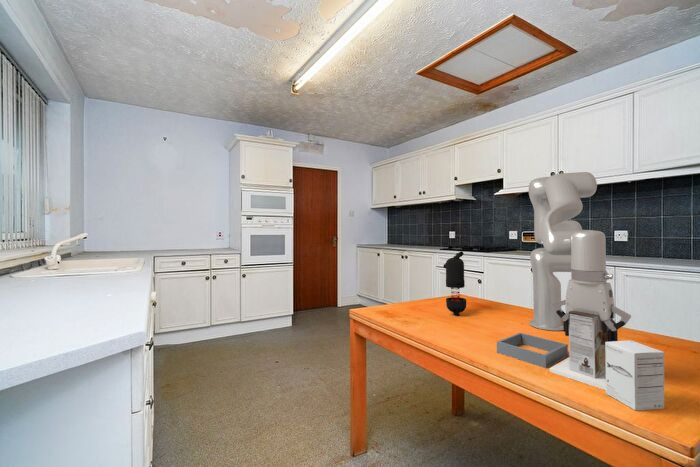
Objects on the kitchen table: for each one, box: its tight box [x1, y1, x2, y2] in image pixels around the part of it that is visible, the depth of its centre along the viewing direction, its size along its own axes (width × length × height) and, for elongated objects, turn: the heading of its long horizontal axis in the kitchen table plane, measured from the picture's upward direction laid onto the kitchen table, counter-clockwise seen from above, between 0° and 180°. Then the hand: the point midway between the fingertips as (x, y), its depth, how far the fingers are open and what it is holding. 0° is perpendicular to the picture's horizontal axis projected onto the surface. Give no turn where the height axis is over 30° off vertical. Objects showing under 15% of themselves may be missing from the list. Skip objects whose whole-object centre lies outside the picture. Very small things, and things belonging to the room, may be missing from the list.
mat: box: [549, 356, 606, 391], centre depth 85 cm, size 14×14×1 cm
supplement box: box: [605, 340, 665, 411], centre depth 72 cm, size 7×7×13 cm
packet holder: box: [496, 332, 569, 369], centre depth 99 cm, size 15×15×4 cm
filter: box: [443, 250, 467, 317], centre depth 147 cm, size 14×9×30 cm
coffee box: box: [568, 311, 609, 378], centre depth 85 cm, size 9×6×16 cm
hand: (589, 339), depth 85 cm, fingers open, 9 cm apart
